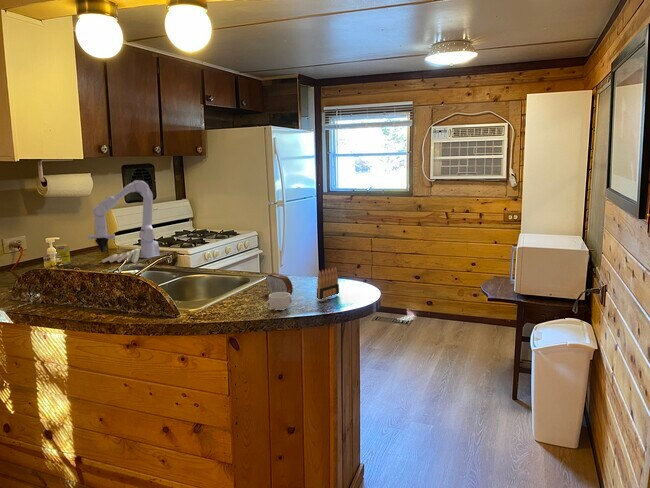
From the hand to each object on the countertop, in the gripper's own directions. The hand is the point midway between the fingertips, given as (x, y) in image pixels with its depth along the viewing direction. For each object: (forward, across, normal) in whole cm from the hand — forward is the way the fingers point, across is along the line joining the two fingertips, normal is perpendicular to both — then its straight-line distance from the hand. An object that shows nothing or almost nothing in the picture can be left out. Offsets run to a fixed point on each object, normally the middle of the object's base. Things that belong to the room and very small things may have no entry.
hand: (103, 251), depth 270 cm
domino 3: (+5, +9, 0) cm, 10 cm away
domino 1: (+5, 0, 0) cm, 5 cm away
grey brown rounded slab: (+6, +108, -73) cm, 130 cm away
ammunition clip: (+6, +127, -78) cm, 150 cm away
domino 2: (+5, +4, 0) cm, 7 cm away
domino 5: (+6, +17, 0) cm, 18 cm away
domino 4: (+5, +13, 0) cm, 14 cm away
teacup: (+6, +110, -92) cm, 144 cm away
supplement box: (+6, -19, -8) cm, 21 cm away
